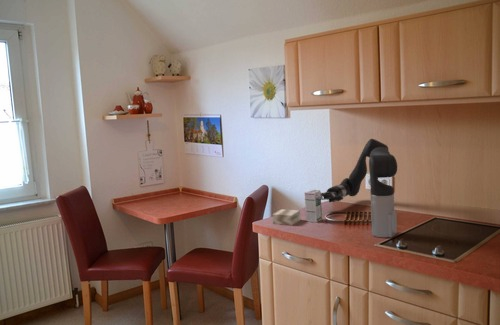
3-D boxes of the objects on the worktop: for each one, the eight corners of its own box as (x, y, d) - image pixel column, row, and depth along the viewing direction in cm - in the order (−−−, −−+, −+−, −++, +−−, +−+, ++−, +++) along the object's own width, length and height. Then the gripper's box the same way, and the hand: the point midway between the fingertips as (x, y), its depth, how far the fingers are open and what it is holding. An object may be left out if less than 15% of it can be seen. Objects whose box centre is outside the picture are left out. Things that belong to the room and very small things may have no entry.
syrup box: (316, 222, 210) (315, 192, 208) (305, 221, 213) (304, 191, 211) (322, 219, 214) (320, 190, 212) (311, 218, 218) (310, 189, 216)
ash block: (300, 220, 217) (299, 210, 216) (292, 226, 208) (291, 215, 208) (281, 219, 222) (281, 209, 221) (273, 224, 213) (272, 214, 212)
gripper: (323, 185, 236) (308, 191, 223) (348, 186, 227) (334, 193, 214) (324, 199, 237) (309, 205, 224) (349, 201, 228) (335, 208, 215)
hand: (321, 199), depth 219 cm, fingers open, 8 cm apart
